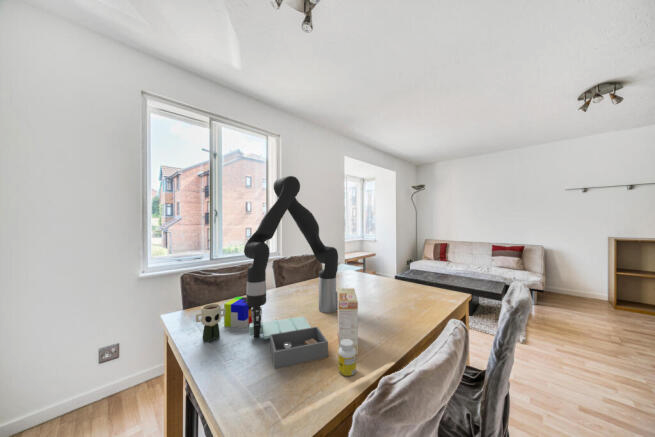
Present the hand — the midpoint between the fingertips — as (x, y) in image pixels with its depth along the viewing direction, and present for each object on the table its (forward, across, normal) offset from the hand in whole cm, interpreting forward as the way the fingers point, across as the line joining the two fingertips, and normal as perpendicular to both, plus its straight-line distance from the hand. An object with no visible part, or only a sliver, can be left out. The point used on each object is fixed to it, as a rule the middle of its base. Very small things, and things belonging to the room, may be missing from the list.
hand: (256, 335), depth 93 cm
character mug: (+2, +7, +17) cm, 18 cm away
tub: (+2, -16, -13) cm, 21 cm away
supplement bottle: (+2, -31, -25) cm, 40 cm away
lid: (-1, 0, -9) cm, 9 cm away
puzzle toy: (+2, +19, +6) cm, 20 cm away
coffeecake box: (+2, -16, -32) cm, 36 cm away
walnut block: (+1, -17, -18) cm, 24 cm away
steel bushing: (+1, -14, -10) cm, 17 cm away
